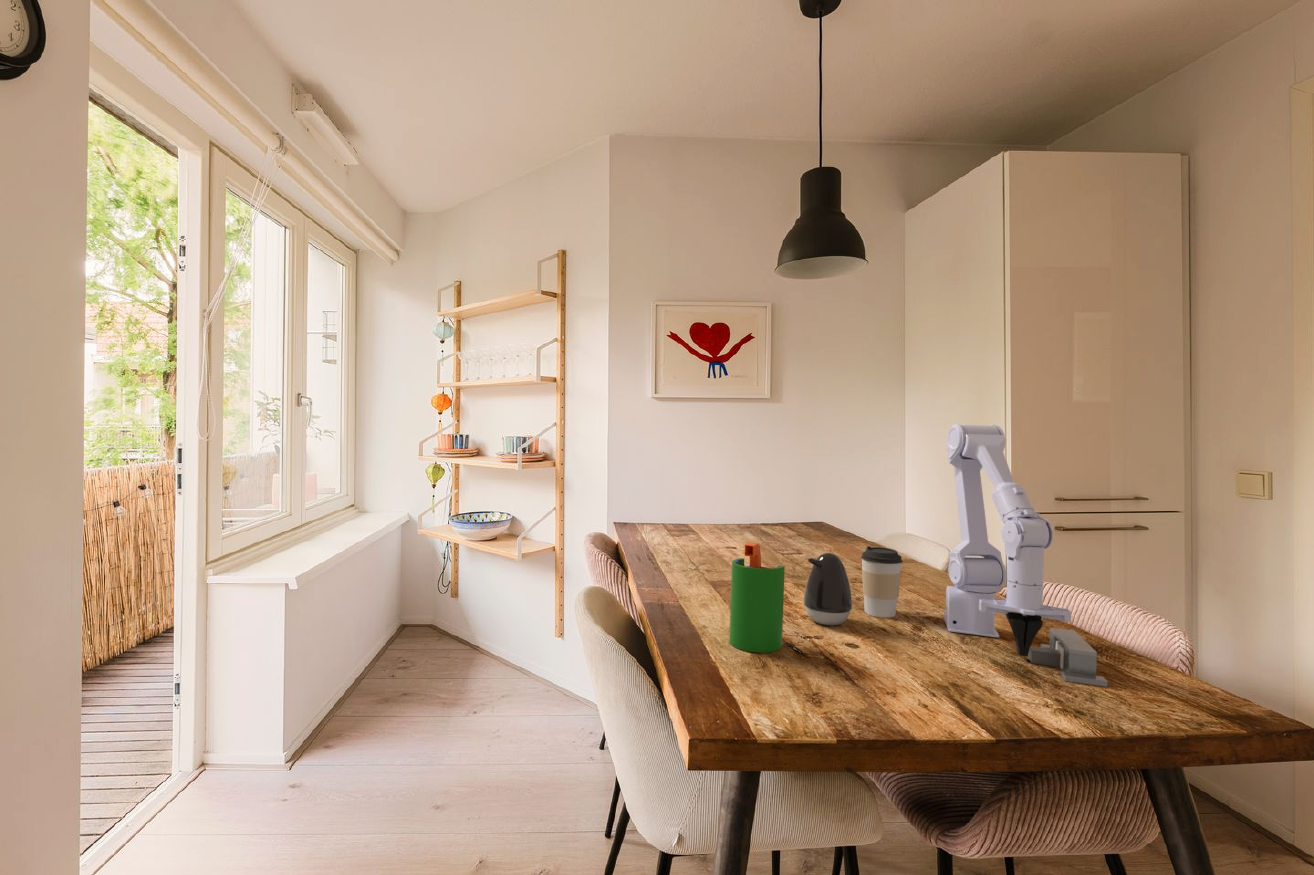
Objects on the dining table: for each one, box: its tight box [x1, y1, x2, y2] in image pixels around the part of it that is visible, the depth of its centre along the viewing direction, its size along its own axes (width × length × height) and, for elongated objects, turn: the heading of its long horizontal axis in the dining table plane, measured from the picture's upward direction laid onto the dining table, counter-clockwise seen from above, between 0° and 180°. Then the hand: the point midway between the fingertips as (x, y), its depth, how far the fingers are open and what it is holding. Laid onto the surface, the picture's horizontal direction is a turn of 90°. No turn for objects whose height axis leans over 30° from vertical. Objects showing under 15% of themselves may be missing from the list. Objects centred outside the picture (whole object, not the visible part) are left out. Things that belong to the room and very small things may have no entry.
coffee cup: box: [860, 545, 903, 619], centre depth 136 cm, size 9×9×15 cm
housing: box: [1040, 627, 1108, 688], centre depth 107 cm, size 6×16×5 cm, turn 160°
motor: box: [729, 542, 786, 654], centre depth 114 cm, size 10×9×20 cm
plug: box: [1028, 641, 1064, 670], centre depth 108 cm, size 8×4×4 cm, turn 70°
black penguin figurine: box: [803, 552, 853, 627], centre depth 129 cm, size 10×10×15 cm
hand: (1022, 654), depth 110 cm, fingers closed
